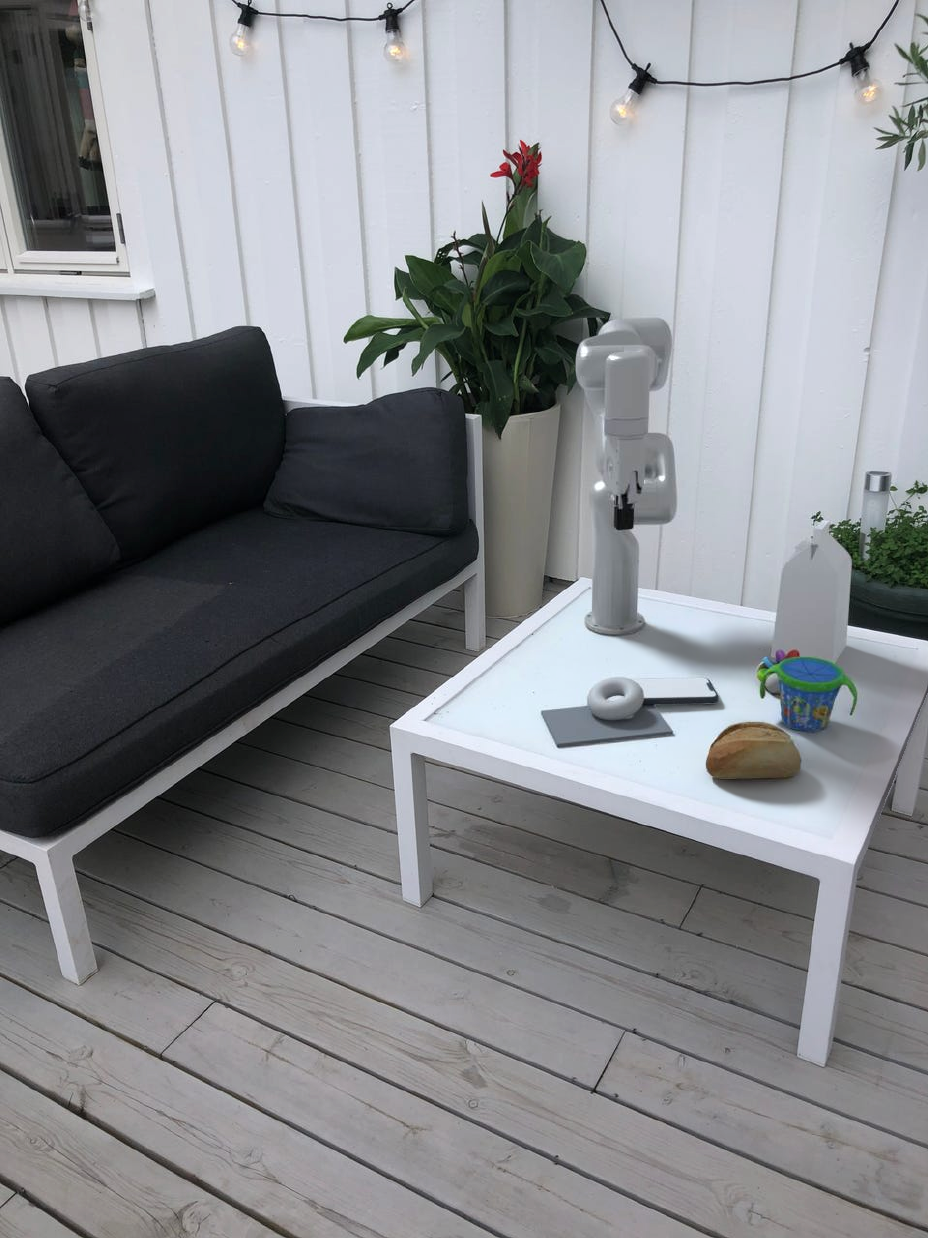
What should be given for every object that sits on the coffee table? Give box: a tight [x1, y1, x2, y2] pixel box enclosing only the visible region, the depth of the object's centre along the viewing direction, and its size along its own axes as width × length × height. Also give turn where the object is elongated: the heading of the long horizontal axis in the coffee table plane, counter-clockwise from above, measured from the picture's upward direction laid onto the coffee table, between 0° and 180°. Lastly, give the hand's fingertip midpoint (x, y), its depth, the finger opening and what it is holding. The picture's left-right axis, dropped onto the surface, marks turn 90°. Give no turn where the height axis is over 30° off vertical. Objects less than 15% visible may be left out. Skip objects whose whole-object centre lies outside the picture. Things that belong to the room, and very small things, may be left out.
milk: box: [770, 519, 853, 664], centre depth 193 cm, size 12×12×26 cm
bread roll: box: [705, 721, 803, 780], centre depth 156 cm, size 10×15×8 cm, turn 96°
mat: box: [540, 705, 674, 748], centre depth 174 cm, size 12×20×1 cm, turn 99°
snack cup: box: [759, 657, 858, 733], centre depth 170 cm, size 16×10×10 cm
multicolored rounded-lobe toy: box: [756, 649, 800, 695], centre depth 184 cm, size 8×10×7 cm
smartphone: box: [631, 677, 719, 706], centre depth 182 cm, size 9×2×16 cm
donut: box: [586, 676, 644, 721], centre depth 176 cm, size 10×4×10 cm
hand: (623, 528), depth 180 cm, fingers closed
